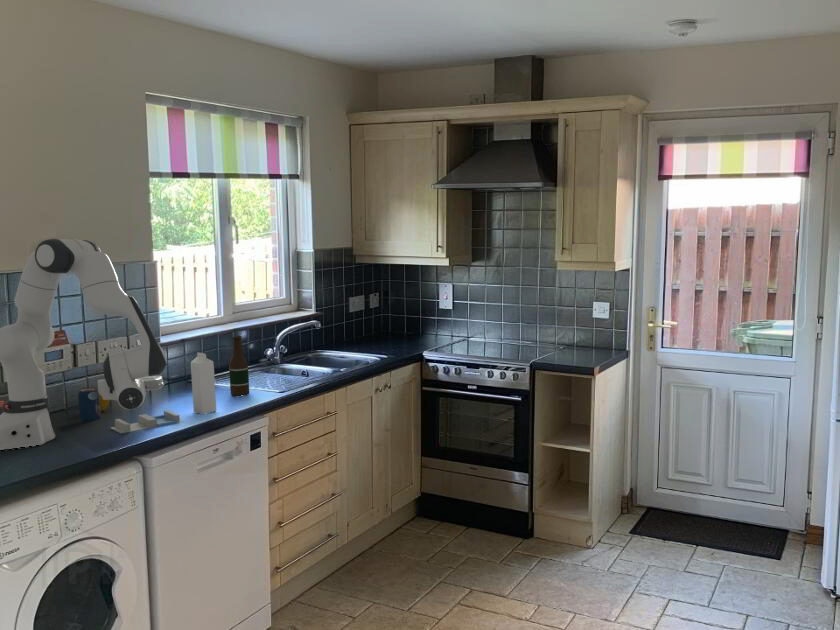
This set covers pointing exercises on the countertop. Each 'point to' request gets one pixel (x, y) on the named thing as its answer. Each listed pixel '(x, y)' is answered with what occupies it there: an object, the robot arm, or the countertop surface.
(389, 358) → the countertop surface
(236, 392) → the beer bottle
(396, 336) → the countertop surface
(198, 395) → the milk
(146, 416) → the white ridged flat base
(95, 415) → the soda can
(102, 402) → the yellow bell pepper
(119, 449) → the countertop surface
